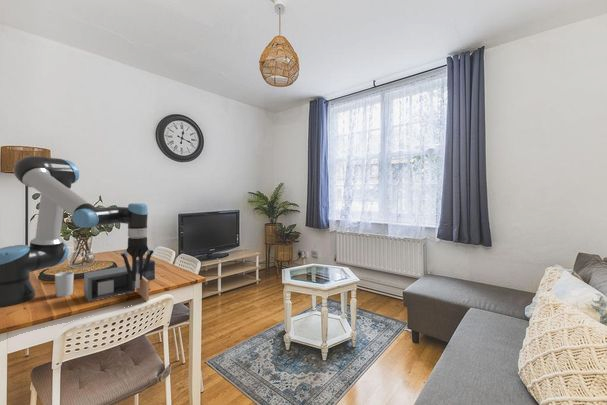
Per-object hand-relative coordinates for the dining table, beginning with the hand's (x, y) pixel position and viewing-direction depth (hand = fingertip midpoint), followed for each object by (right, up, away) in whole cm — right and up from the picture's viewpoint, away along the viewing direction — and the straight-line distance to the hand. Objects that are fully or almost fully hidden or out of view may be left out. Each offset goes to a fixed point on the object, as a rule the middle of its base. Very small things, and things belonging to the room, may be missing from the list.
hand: (137, 287), depth 120 cm
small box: (-13, -4, +26) cm, 29 cm away
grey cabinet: (-16, -5, +5) cm, 17 cm away
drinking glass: (-36, -4, +2) cm, 36 cm away
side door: (+1, -5, +3) cm, 6 cm away
